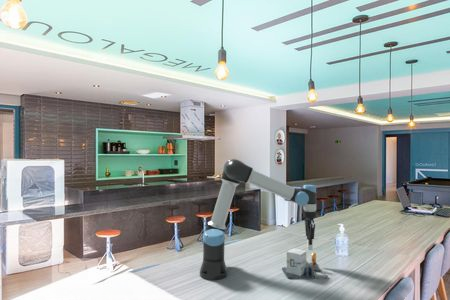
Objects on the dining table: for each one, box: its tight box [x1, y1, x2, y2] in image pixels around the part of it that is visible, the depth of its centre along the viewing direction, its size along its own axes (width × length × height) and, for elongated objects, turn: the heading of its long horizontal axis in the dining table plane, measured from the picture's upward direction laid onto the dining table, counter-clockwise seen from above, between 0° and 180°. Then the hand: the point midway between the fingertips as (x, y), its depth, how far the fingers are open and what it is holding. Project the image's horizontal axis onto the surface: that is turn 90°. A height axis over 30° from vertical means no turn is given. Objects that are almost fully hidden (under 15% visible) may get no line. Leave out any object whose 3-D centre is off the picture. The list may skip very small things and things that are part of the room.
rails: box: [314, 266, 329, 280], centre depth 172 cm, size 7×16×2 cm, turn 3°
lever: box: [308, 252, 319, 272], centre depth 178 cm, size 4×4×9 cm
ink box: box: [286, 247, 307, 276], centre depth 171 cm, size 8×8×12 cm
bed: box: [281, 260, 315, 280], centre depth 171 cm, size 14×13×5 cm
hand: (309, 249), depth 186 cm, fingers closed
